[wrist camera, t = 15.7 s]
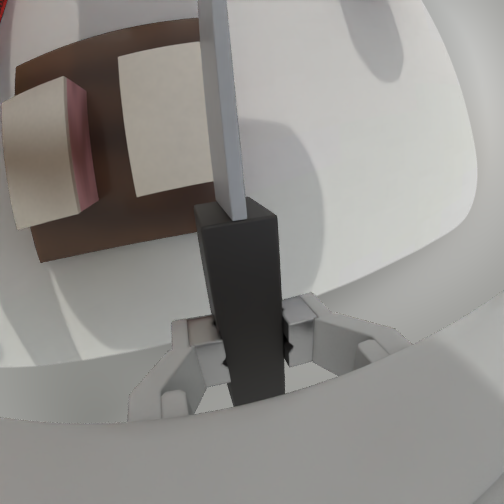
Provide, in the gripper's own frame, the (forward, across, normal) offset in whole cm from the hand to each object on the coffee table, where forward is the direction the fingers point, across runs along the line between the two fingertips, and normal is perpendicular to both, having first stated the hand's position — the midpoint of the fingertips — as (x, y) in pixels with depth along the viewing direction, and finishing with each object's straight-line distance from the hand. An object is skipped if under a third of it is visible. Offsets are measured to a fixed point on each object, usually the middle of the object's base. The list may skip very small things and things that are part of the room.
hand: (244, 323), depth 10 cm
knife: (+2, 0, -4) cm, 5 cm away
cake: (+15, +6, -8) cm, 18 cm away
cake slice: (+14, +2, -8) cm, 16 cm away
